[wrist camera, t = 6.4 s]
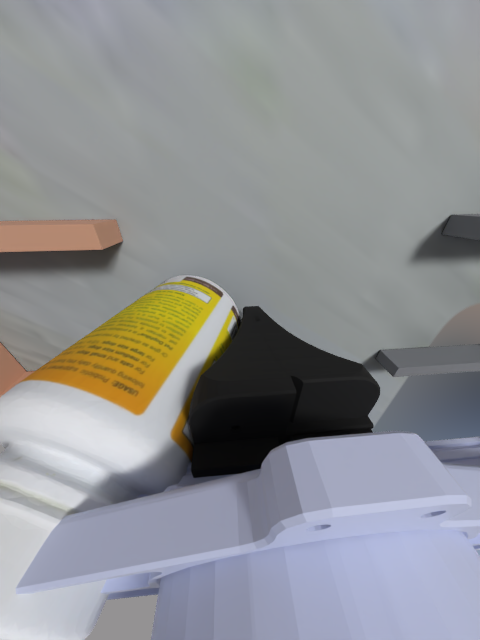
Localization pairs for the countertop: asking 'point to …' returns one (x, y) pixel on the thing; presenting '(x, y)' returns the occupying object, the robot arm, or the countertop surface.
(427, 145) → the countertop surface
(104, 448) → the supplement bottle
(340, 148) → the countertop surface
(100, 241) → the frame
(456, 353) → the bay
